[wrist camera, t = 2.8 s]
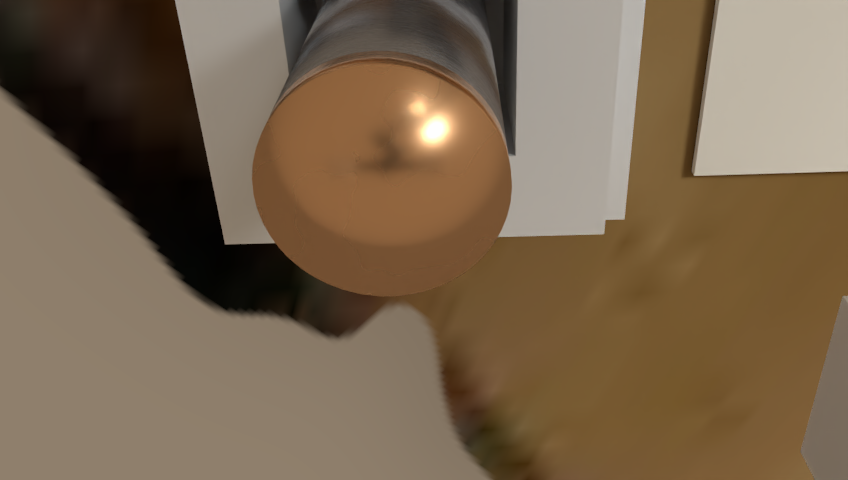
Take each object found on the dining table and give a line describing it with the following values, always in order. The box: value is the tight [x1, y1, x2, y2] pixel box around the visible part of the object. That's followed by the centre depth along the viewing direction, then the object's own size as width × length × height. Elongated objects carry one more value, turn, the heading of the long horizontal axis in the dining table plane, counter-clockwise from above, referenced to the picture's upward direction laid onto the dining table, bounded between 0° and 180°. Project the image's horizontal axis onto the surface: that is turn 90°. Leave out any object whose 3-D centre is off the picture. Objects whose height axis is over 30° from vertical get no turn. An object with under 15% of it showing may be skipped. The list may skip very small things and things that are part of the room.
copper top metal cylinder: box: [252, 0, 512, 296], centre depth 22 cm, size 5×5×14 cm
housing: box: [175, 0, 646, 244], centre depth 26 cm, size 18×16×8 cm
